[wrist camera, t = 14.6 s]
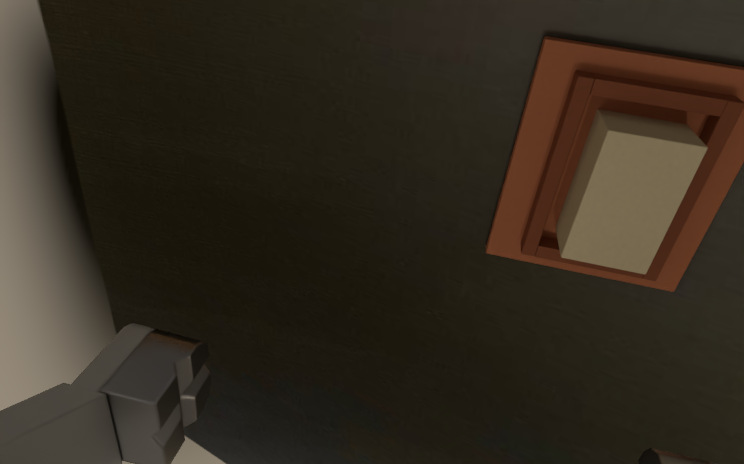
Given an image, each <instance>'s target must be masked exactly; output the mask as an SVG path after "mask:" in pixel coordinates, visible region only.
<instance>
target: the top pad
mask: <svg viewBox="0 0 744 464" xmlns="http://www.w3.org/2000/svg"><path fill="white" fill-rule="evenodd" d="M707 149H708V147H707V146H706V145H705V144H704V143H703V142H702V141H701V139H700V138H699V137H698V136H697V135H696V134H695V133H694V132H693V131H692V130H691V128H690V127H689V126H688V125H687V124H683V123H677V122H671V121H665V120H660V119H654V118H648V117H642V116H636V115H630V114H624V113H619V112H613V111H607V110H601V109H597V111H596V114H595V117H594V120H593V122H592V125H591V128H590V131H589V134H588V137H587V139H586V142H585V145H584V148H583V151H582V154H581V156H580V159H579V162H578V165H577V168H576V170H575V173H574V176H573V179H572V182H571V185H570V187H569V190H568V193H567V196H566V199H565V202H564V204H563V207H562V210H561V213H560V216H559V218H558V221H557V224H556V227H555V228H556V234H557V239H558V245H559V250H560V255H561V257H562V258H566V259H571V260H576V261H581V262H586V263H591V264H596V265H601V266H606V267H610V268H615V269H620V270H625V271H630V272H635V273H640V274H646V273H647V271H648V269H649V267H650V265H651V263H652V261H653V259H654V257H655V255H656V253H657V251H658V248H659V246H660V244H661V242H662V240H663V238H664V236H665V234H666V232H667V230H668V228H669V226H670V224H671V222H672V220H673V218H674V216H675V214H676V212H677V210H678V208H679V206H680V204H681V202H682V200H683V198H684V196H685V194H686V192H687V189H688V187H689V185H690V183H691V181H692V179H693V177H694V175H695V173H696V171H697V169H698V167H699V165H700V163H701V161H702V159H703V157H704V155H705V153H706V151H707Z"/></svg>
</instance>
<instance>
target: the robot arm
mask: <svg viewBox="0 0 744 464" xmlns="http://www.w3.org/2000/svg"><path fill="white" fill-rule="evenodd" d="M208 357H209V351H208V343H205V342H203V341H199V340H196V339H192V338H188V337H185V336H181V335H177V334H173V333H170V332H166V331H162V330H158V329H154V328H150V327H146V326H142V325H138V324H134V323H131V324H129V325H127V326H125V327H124V328H123V329H122V330H121V331H120V332H119V333H118V334H117V335H116V336H115V337H114V338H113V339H112V341H111V342H110V343H109V344H108V345H107V346H106V347H105V348H104V349H103V350H102V351H101V352H100V354H99V355H98V356H97V357H96V358H95V359H94V360H93V361H92V362H91V363H90V364H89V366H88V367H87V368H86V369H85V370H84V371H83V372H82V373H81V374H80V375H79V376H78V377H77V379H76V380H75V381H74V382H73V383H72V384H71V385H70V384H66V383H62V384H60V385H58V386H55V387H53V388H51V389H49V390H46V391H44V392H42V393H40V394H37V395H35V396H33V397H31V398H28V399H27V400H24V401H22V402H20V403H17V404H15V405H13V406H10V407H9V408H6V409H4V410H1V411H0V464H122V461H126V462H130V463H135V464H171V462H172V461H173V459H174V457H175V456H176V454H177V452H178V451H179V449H180V447H181V445H182V444H183V442H184V441H185V438H184V429H183V428H184V427H186V426H188V425H190V424H191V423H193V422H195V421H197V419H198V417H199V415H200V414H201V412H202V410H203V409H204V406H205V403H206V401H207V398H208V395H209V392H210V385H211V374H210V371H209V370H208V369H207V368H206V366H205V365H204V363H205V362H206V360H207V359H208ZM638 461H639V464H717V463H710V462H709V461H706V460H701V459H697V458H693V457H688V456H684V455H679V454H675V453H671V452H666V451H662V450H657V449H653V448H650V449H648V450H646V451H644V452H643V454H642V455H641V457H640V458H639V460H638Z"/></svg>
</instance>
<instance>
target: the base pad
mask: <svg viewBox="0 0 744 464" xmlns="http://www.w3.org/2000/svg"><path fill="white" fill-rule="evenodd" d="M597 109H601V110H607V111H613V112H619V113H624V114H630V115H636V116H642V117H648V118H654V119H660V120H665V121H671V122H677V123H683V124H687V125H688V126H689V127H690V128H691V130H692V131H693V132H694V133H695V134H696V135H697V136H698V137H699V138H700V139H701V141H702V142H703V143H704V144H705V145H706V146H707V147H708V149H707V151H706V153H705V155H704V157H703V159H702V161H701V163H700V165H699V167H698V169H697V171H696V173H695V175H694V177H693V179H692V181H691V183H690V185H689V187H688V189H687V192H686V194H685V196H684V198H683V200H682V202H681V204H680V206H679V208H678V210H677V212H676V214H675V216H674V218H673V220H672V222H671V224H670V226H669V228H668V230H667V232H666V234H665V236H664V238H663V240H662V242H661V244H660V246H659V248H658V251H657V253H656V255H655V257H654V259H653V261H652V263H651V265H650V267H649V269H648V271H647V273H646V274H640V273H635V272H630V271H625V270H620V269H615V268H610V267H606V266H601V265H596V264H591V263H586V262H581V261H576V260H571V259H566V258H562V257H561V255H560V250H559V245H558V239H557V234H556V228H555V227H556V224H557V221H558V218H559V216H560V213H561V210H562V207H563V204H564V202H565V199H566V196H567V193H568V190H569V187H570V185H571V182H572V179H573V176H574V173H575V170H576V168H577V165H578V162H579V159H580V156H581V154H582V151H583V148H584V145H585V142H586V139H587V137H588V134H589V131H590V128H591V125H592V122H593V120H594V117H595V114H596V111H597ZM743 163H744V67H740V66H734V65H727V64H721V63H714V62H708V61H702V60H695V59H689V58H683V57H676V56H670V55H663V54H657V53H651V52H644V51H638V50H631V49H625V48H619V47H612V46H606V45H600V44H593V43H587V42H580V41H574V40H568V39H561V38H555V37H548V36H544V38H543V42H542V46H541V49H540V53H539V57H538V60H537V64H536V67H535V71H534V75H533V78H532V82H531V86H530V89H529V93H528V96H527V100H526V104H525V107H524V111H523V115H522V118H521V122H520V125H519V129H518V133H517V136H516V140H515V144H514V147H513V151H512V154H511V158H510V162H509V165H508V169H507V172H506V176H505V180H504V183H503V187H502V191H501V194H500V198H499V201H498V205H497V209H496V212H495V216H494V220H493V223H492V227H491V230H490V234H489V238H488V241H487V245H486V253H487V254H492V255H497V256H502V257H507V258H512V259H516V260H521V261H526V262H531V263H536V264H541V265H546V266H550V267H555V268H560V269H565V270H570V271H575V272H579V273H584V274H589V275H594V276H599V277H604V278H609V279H613V280H618V281H623V282H628V283H633V284H638V285H643V286H647V287H652V288H657V289H662V290H667V291H672V292H674V291H675V289H676V287H677V285H678V283H679V281H680V280H681V278H682V276H683V274H684V272H685V270H686V268H687V267H688V265H689V263H690V261H691V259H692V257H693V255H694V254H695V252H696V250H697V248H698V246H699V244H700V242H701V241H702V239H703V237H704V235H705V233H706V231H707V229H708V228H709V226H710V224H711V222H712V220H713V218H714V216H715V215H716V213H717V211H718V209H719V207H720V205H721V203H722V202H723V200H724V198H725V196H726V194H727V192H728V190H729V189H730V187H731V185H732V183H733V181H734V179H735V177H736V176H737V174H738V172H739V170H740V168H741V166H742V165H743Z"/></svg>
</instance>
